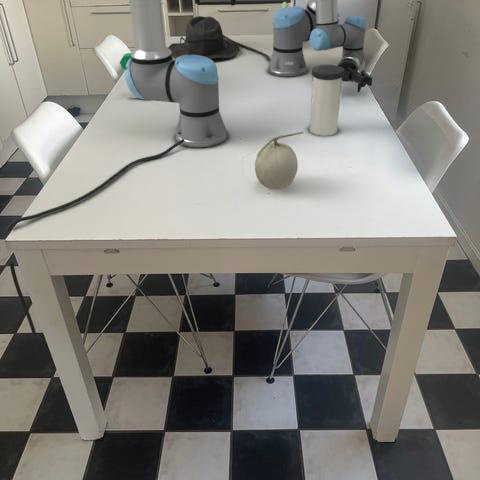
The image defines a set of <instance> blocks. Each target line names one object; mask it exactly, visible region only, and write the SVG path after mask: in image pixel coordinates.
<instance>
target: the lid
mask: <svg viewBox="0 0 480 480" xmlns="http://www.w3.org/2000/svg"><path fill="white" fill-rule="evenodd" d="M337 65H338V64H337ZM337 65H336V64H317V65H315V66H313V67H311V77H312V76H313V77H315V78H318V79H323V80H334V79H339V78H342V77H343V76H344V68H342V67H340V66H337Z"/></svg>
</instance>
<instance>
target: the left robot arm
mask: <svg viewBox="0 0 480 480" xmlns="http://www.w3.org/2000/svg"><path fill="white" fill-rule="evenodd" d="M128 3H129V11H130V19H131V26H132V33H133V41H134V49H133V50H132V52H130V53H131V58H130V59H129V60H128V62H127V64H126V69H127V70H124V74H125V75H124V77H125V82H126V85H127V88H128V90H129V92H130V93H131V94H132V95H133V96H134V95H135V96H136V97H137V98H136V99H142V100H146V101H153V102H166V103H176V104H178V106H179V116H178V121H177V125H176V130H175V140H176V142H175V143H174V144H172V145H171V146H170V147H168V148H167V149H166V150H164V151H162V152H160V153H158V154H154V155H150V156H146V157H142V158H141V157H140V158H137V159H136V160H134V161H131V162H129V163H128V164H126V165H124V167H122V168H121V169H120V170H118V171H117V172H116V173H114V174H112V176H110V177H109V178H107V179H106V180H105V181H104V182H103V183H101V184H99V185H98V186H96V187H95V188H93V189H92V190H89V192H87V193H85V194H83V195H81V196H79V197H77V198H75V199H73V200H71V201H69V202H66V203H64V204H62V205H58V206H56V207H53V208H50V209H47V210H46V209H45V210H44V211H41V212H39V213H36V214H32V215H27V216H22V217H19V218H17V219H14V220H13V221H12V222H11V223H10V224H9V225H7V228H6V232H10V231H12V229H13V227H14V226H15V225H17V224H18V223H21V222H24V221H29V220H35V219H37V218H40V217H42V216H45V215H49V214H51V213H54V212H57V211H60V210H63V209H66V208H69V207H71V206H73V205H75V204H78V203H80V202H81V201H84V200H85V199H87V198H88V197H90V196H92V195H94V194H95V193H97V192H98V191H100V190H101V189H103V188H104V187H106V186H107V185H108V184H110V183H111V182H112V181H114V180H115V179H116V178H117V177H119V176H120V175H122V173H124V172H125V171H126V170H128V169H129V168H130V167H132V166H135V165H137V164H138V163H142V162H145V161H150V160H154V159H158V158H161V157H163V156H165V155H166V154H168V153H170V152H171V151H173V150H174V149H175V148H177V147H178V146H180V145H182V146H184V147H188V148H197V149H199V148H200V149H201V148H211V147H214V146H217V145H219V144H222V143H223V142H224V141H225V140H226V139H227V128H226V126H225V123H224V120H223V117H222V115H221V112H220V93H219V92H220V91H219V90H220V89H219V79H220V78H219V73H218V67H217V64H216V62H215V61H214V60H213V59H209V58H207V57H204V56H200V55H182V56H179V57H177V58H175V60H174V59H173V56H172V51H171V50H170V49H169V48H168V47H169V46H167V43H166V34H165V33H166V32H165V25H164V15H163V13H164V12H163V5H162V0H128ZM200 3H201V0H194V4H195V5H198V4H200ZM236 4H237V3H236V0H230V6H231V7H232V6H235V5H236ZM9 268H10V271H11V277H12V280H13V284H14V287H15V290H16V293H17V295H18V298H19V301H20V303H21V305H22V308H23V311H24V313H25V316H26V318H27V321H28V325H29V328H30V330H31V333H32V335H35V334H36V333H37V331H36V327H35V325H34V321H33V319H32V316H31V314H30V311H29V308H28V306H27V304H26V301H25V298H24V295H23V293H22V290H21V287H20V284H19V280H18V277H17V272H16V269H15V268H16V267H15V263H14V262H12V263H11V262H10V263H9Z"/></svg>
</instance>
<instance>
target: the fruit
mask: <svg viewBox="0 0 480 480" xmlns="http://www.w3.org/2000/svg"><path fill="white" fill-rule="evenodd" d="M301 134H304V131H300V132H295V133H289V134H283V135H282V134H281V135H278V136H274V137H273V138H271V139H270V140H269V141H268V142H266V144H265V145H264V146H262V147H261V148H260V150H259V151H258V153H257V154H256V158H255V159H254V160H255V161H254V171H255V175H256V179H257V180H258V182H259V183H260V184H261V185H262V186H264V187H265V188H267V189H268V190H274V191H276V190H282V189H285V188H287V187H288V186H290V185H291V184H292V182H293V181H294V180H295V178H296V176H297V173H298V167H299V166H298V158H297V155H296V153H295V150H294V149H293V148H292V147H291V146H290V145H288V144H286V143H284V142H281V141H280V142H279V140H281V139H283V138H287V137H293V136H296V135H301Z"/></svg>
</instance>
